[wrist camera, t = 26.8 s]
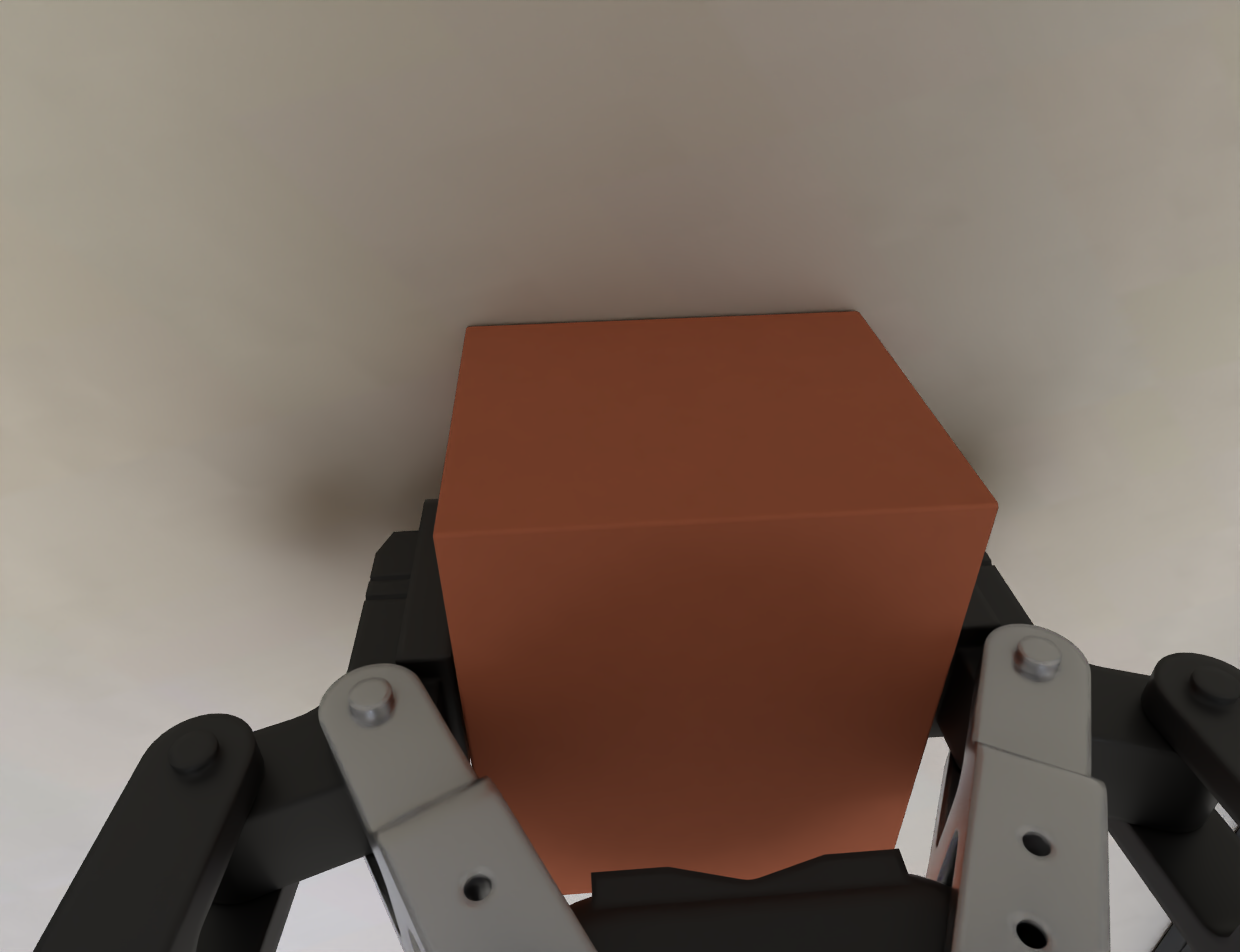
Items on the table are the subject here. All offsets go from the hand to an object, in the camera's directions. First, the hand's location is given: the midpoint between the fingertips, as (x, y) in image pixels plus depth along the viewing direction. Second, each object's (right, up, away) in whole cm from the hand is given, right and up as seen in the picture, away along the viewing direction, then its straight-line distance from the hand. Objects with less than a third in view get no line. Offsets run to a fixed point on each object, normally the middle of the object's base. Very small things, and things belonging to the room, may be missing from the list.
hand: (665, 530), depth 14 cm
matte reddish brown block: (0, 0, +1) cm, 1 cm away
